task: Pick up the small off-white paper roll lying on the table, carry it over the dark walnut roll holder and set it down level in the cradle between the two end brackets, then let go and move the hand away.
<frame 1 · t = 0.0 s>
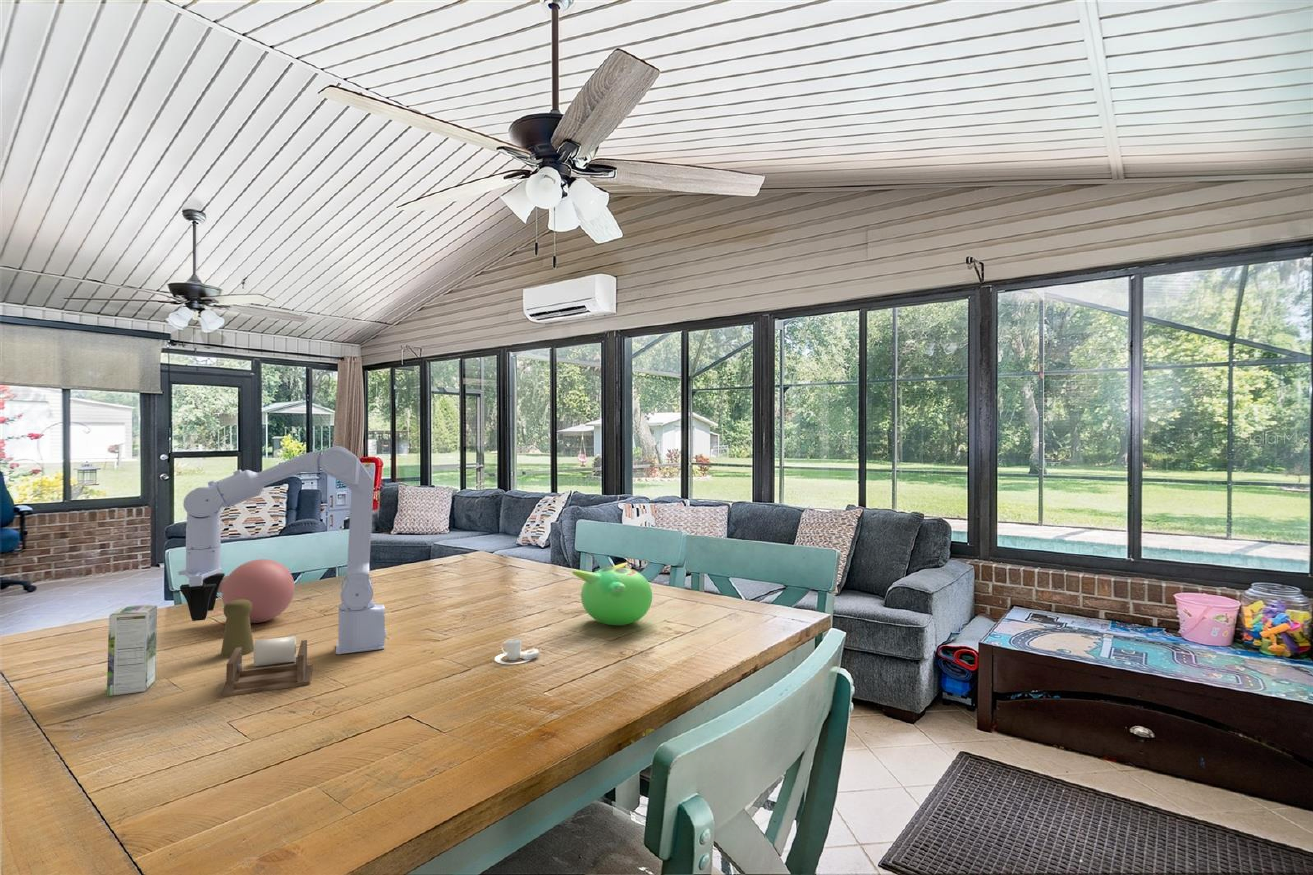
hand: (203, 615, 130), 10 cm above the table, tool pointing down, fingers open, 7 cm apart
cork: (237, 653, 139), on the table
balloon: (249, 622, 162), on the table
teacup and saucer: (519, 665, 133), on the table
holder: (268, 681, 122), on the table
roll: (275, 663, 132), on the table
toy bird: (615, 624, 161), on the table
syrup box: (132, 689, 118), on the table
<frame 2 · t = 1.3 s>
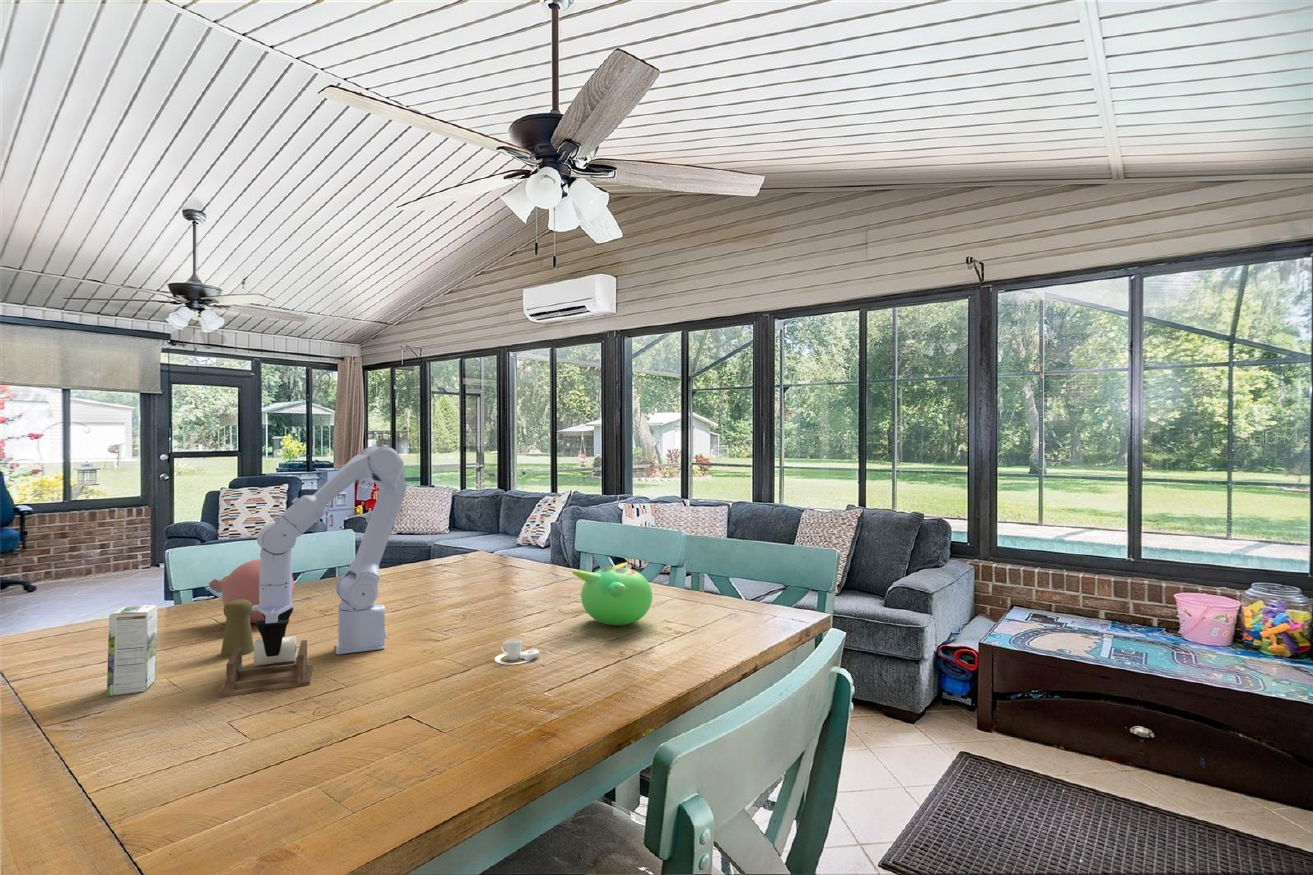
hand: (274, 650, 132), 3 cm above the table, tool pointing down, fingers open, 7 cm apart
roll: (275, 663, 132), on the table, tilted 8°
everything else where it was.
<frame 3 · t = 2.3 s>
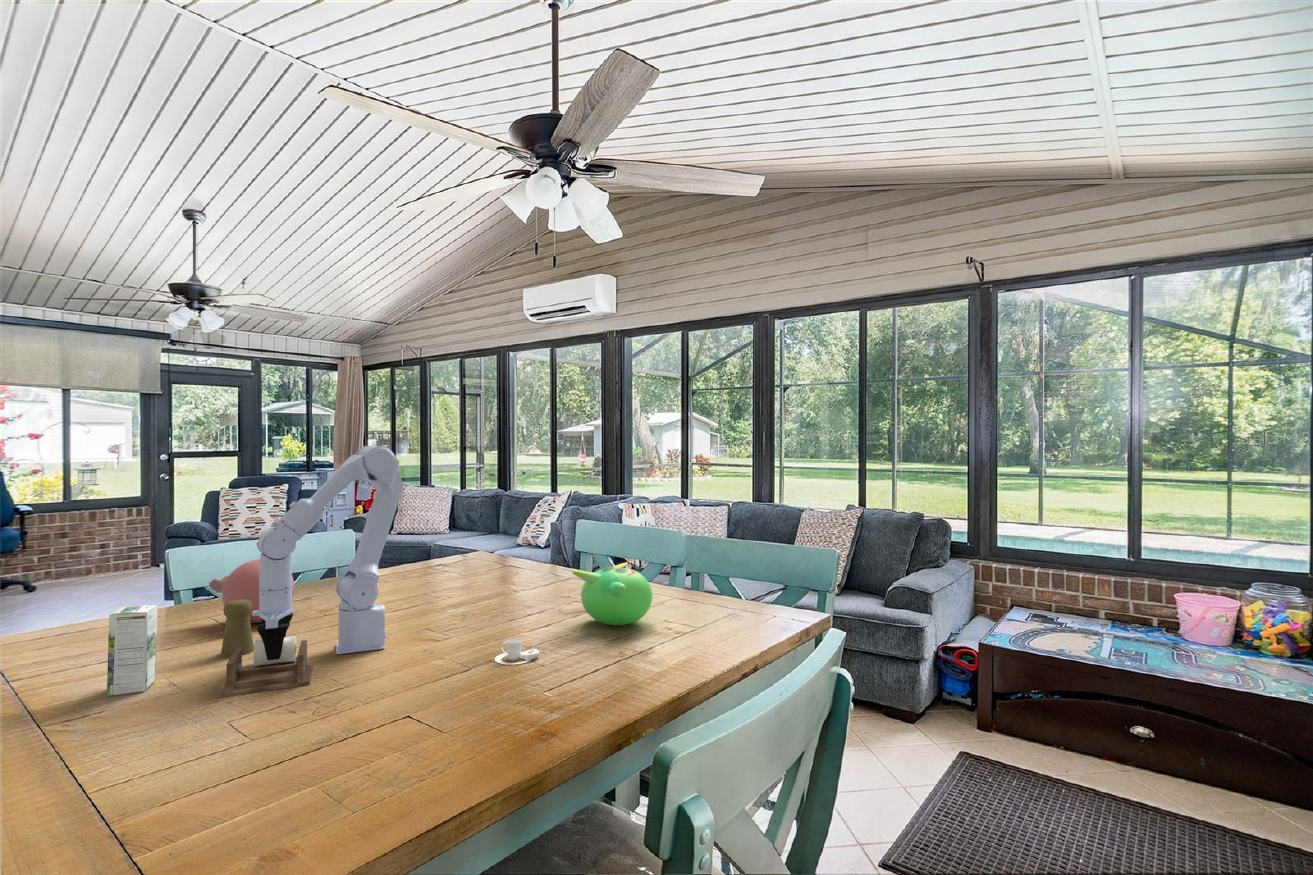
hand: (275, 655, 132), 2 cm above the table, tool pointing down, fingers closed on roll, 5 cm apart
roll: (275, 663, 132), on the table, touching gripper
everything else where it was.
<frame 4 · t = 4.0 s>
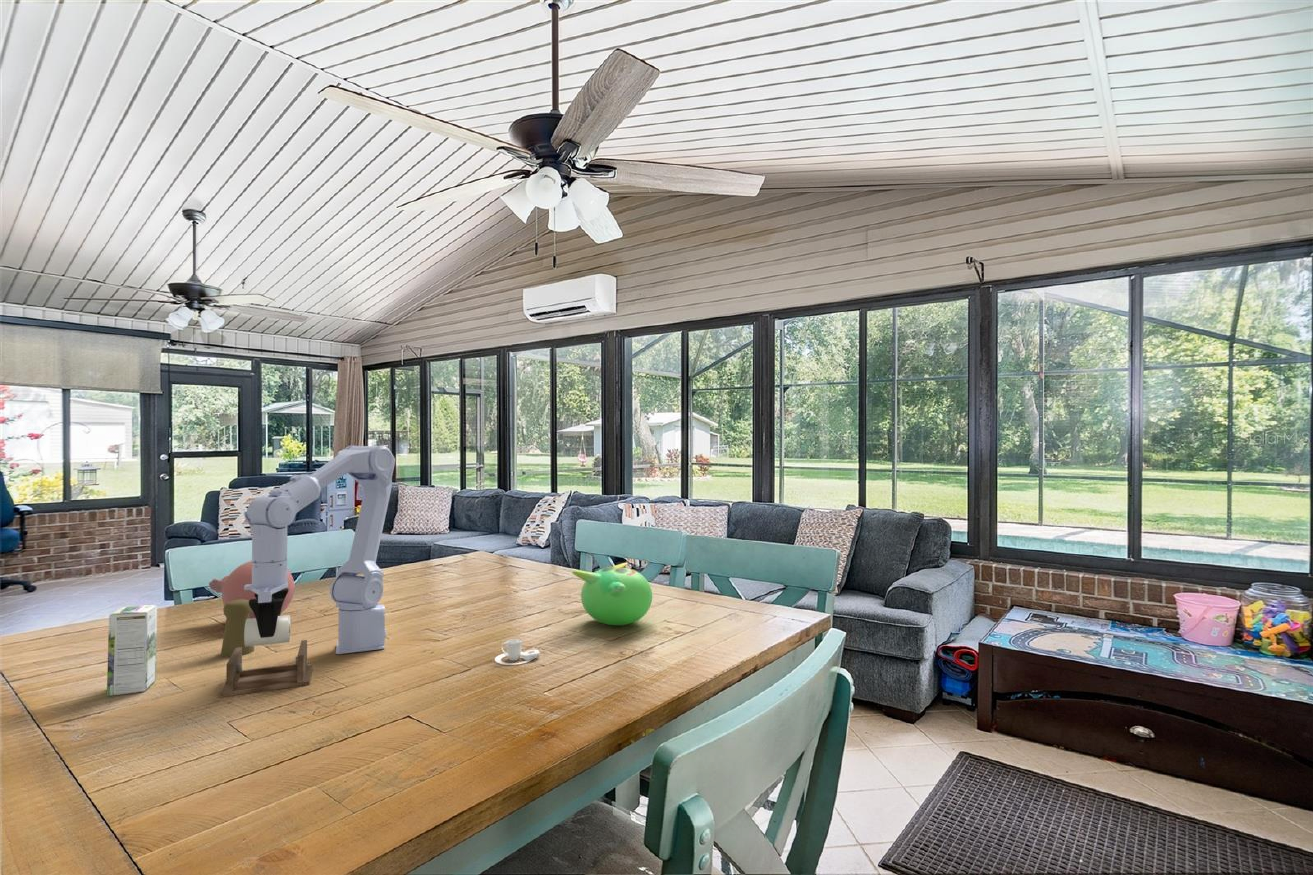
hand: (269, 632, 123), 9 cm above the table, tool pointing down, fingers closed on roll, 5 cm apart
roll: (267, 643, 123), point 7 cm above the table, touching gripper
everything else where it was.
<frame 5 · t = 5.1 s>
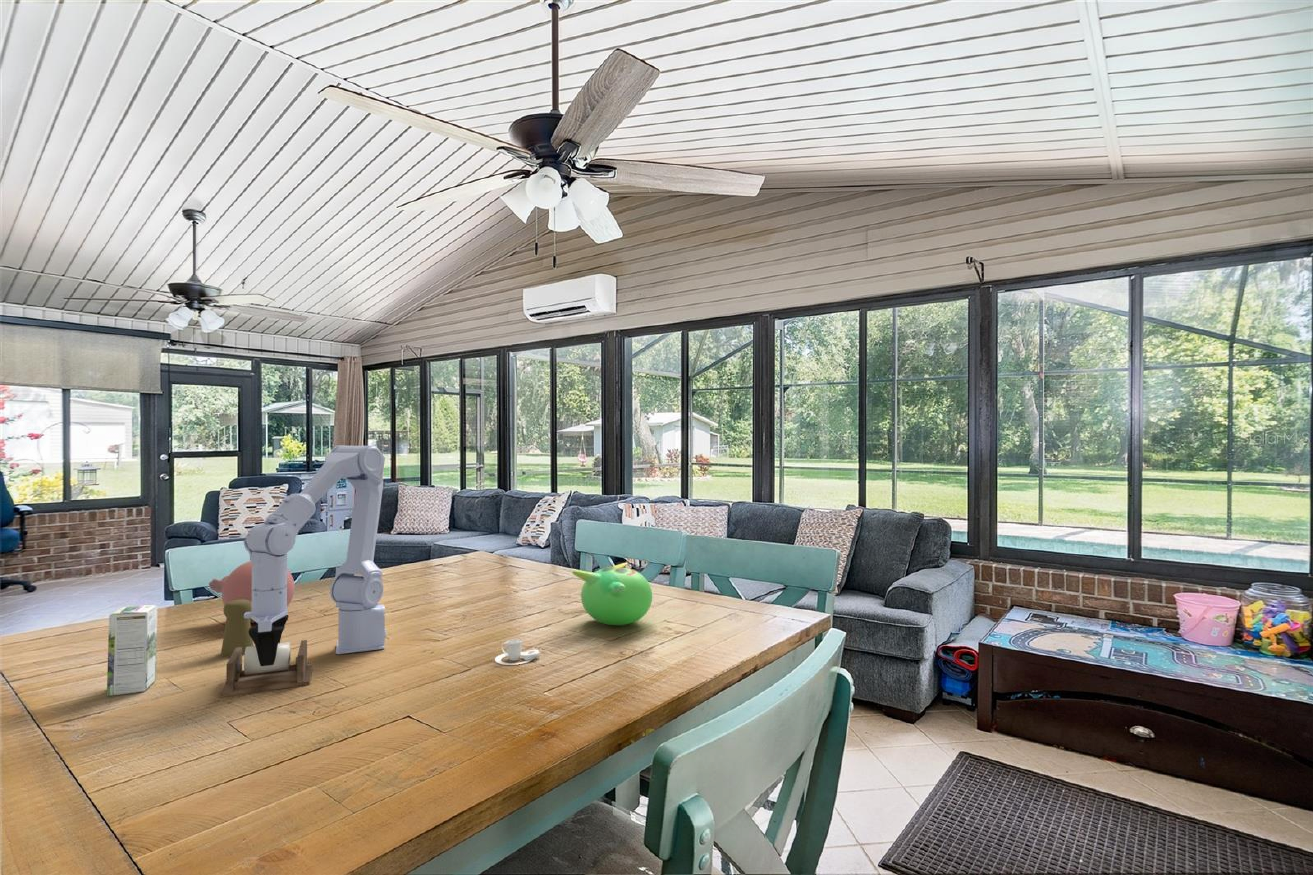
hand: (269, 660, 122), 4 cm above the table, tool pointing down, fingers closed on roll, 5 cm apart
roll: (267, 671, 122), point 2 cm above the table, touching gripper
everything else where it was.
when the fingers open (4 cm above the table, at t = 5.9 s): roll drops 1 cm, resting on holder.
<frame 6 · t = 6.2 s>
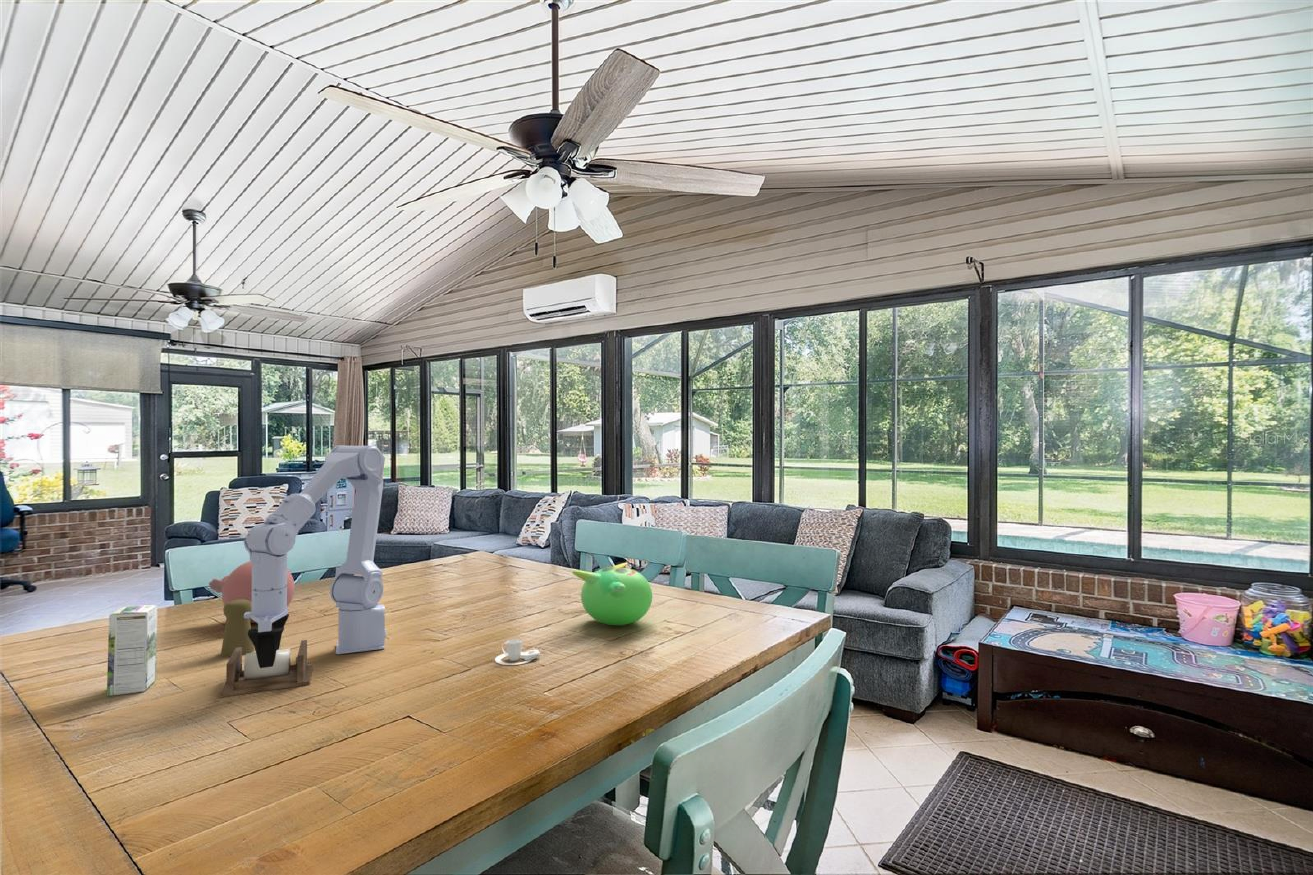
hand: (269, 660, 122), 4 cm above the table, tool pointing down, fingers open, 7 cm apart
roll: (267, 678, 122), point 1 cm above the table, touching holder
everything else where it was.
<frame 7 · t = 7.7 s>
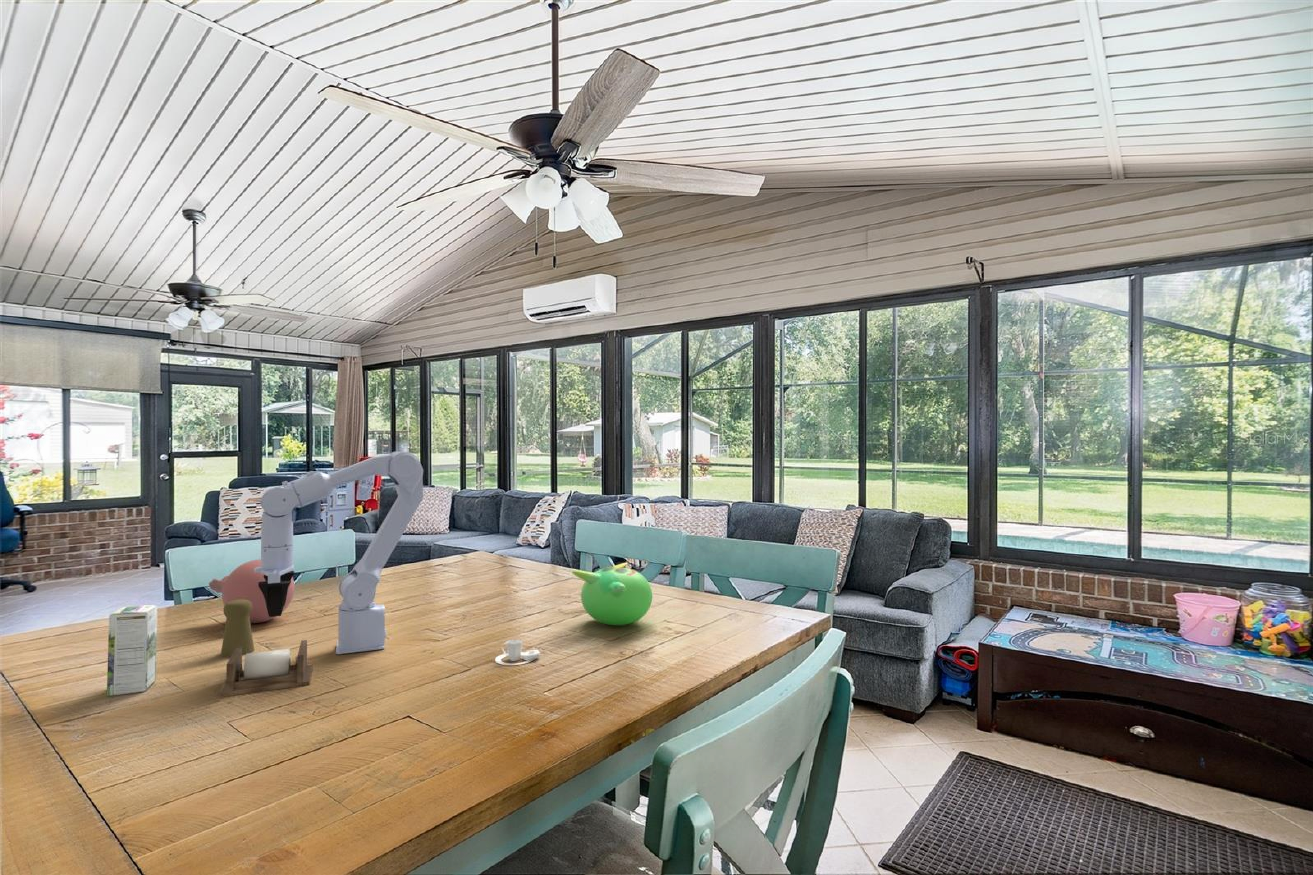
hand: (276, 611, 134), 10 cm above the table, tool pointing down, fingers open, 7 cm apart
nothing on the table moved.
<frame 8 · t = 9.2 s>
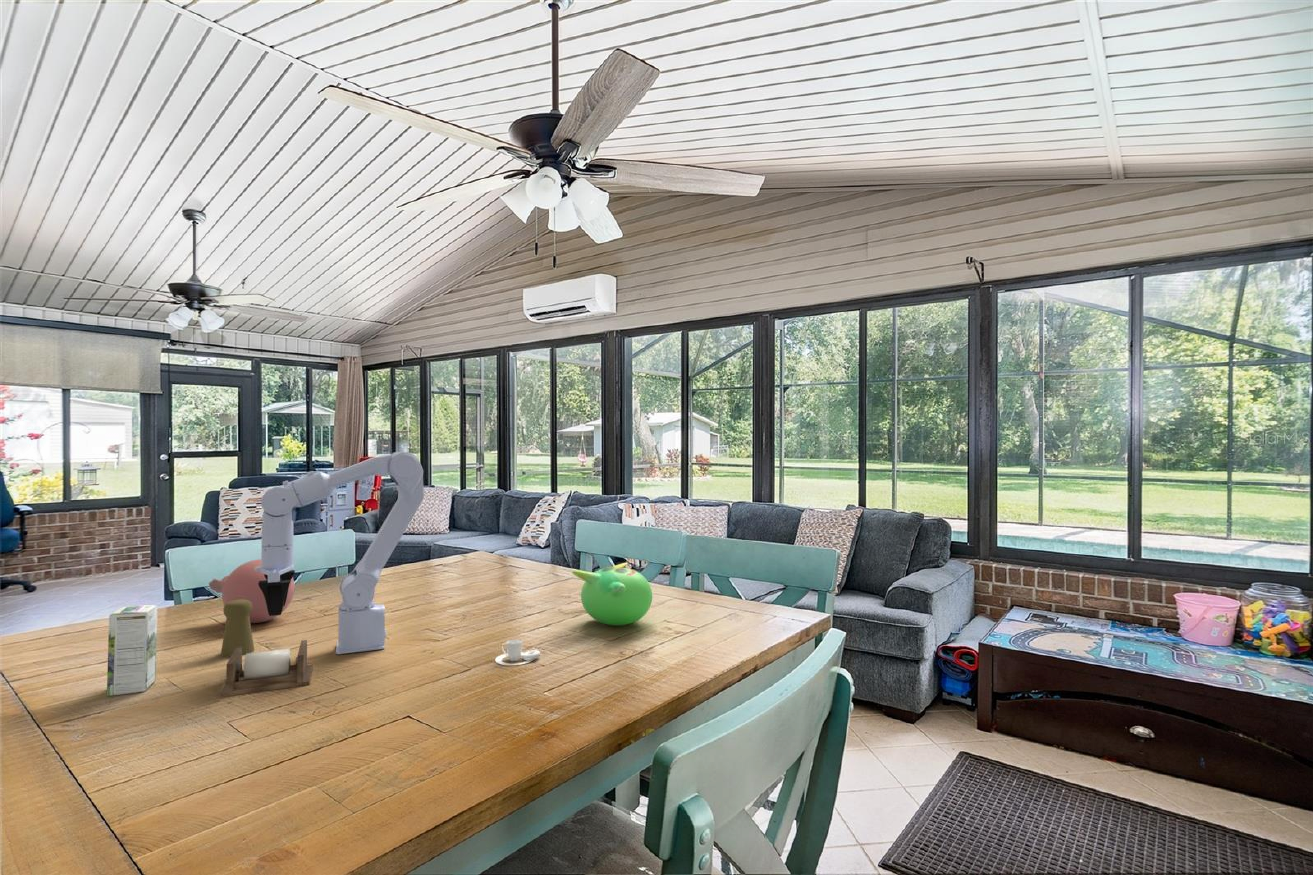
hand: (277, 610, 135), 10 cm above the table, tool pointing down, fingers open, 7 cm apart
nothing on the table moved.
at the end: roll 0.2 cm off-centre on the holder, point 0.6 cm above the holder's base; the gripper is holding nothing; roll touching holder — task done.
